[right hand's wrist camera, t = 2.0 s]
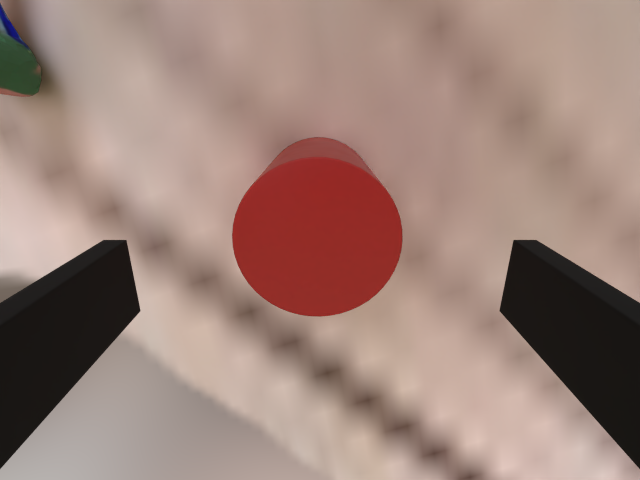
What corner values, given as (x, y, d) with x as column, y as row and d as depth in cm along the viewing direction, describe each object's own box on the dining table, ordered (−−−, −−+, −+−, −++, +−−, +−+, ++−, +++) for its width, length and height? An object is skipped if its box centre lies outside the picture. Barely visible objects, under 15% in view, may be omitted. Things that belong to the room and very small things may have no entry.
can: (276, 250, 26) (253, 326, 17) (253, 147, 23) (212, 173, 14) (377, 234, 25) (409, 304, 16) (365, 128, 23) (394, 142, 14)
